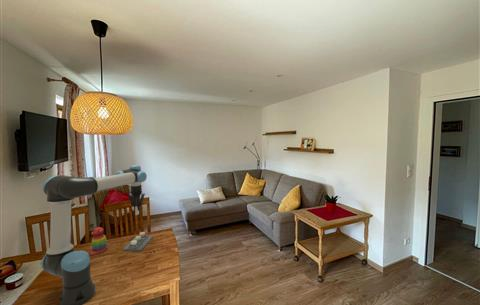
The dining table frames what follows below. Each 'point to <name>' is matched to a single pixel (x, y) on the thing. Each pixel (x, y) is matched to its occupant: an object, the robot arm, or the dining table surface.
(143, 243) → the board
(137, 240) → the button two
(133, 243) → the button one
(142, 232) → the button three
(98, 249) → the stacking bear
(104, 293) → the dining table surface
